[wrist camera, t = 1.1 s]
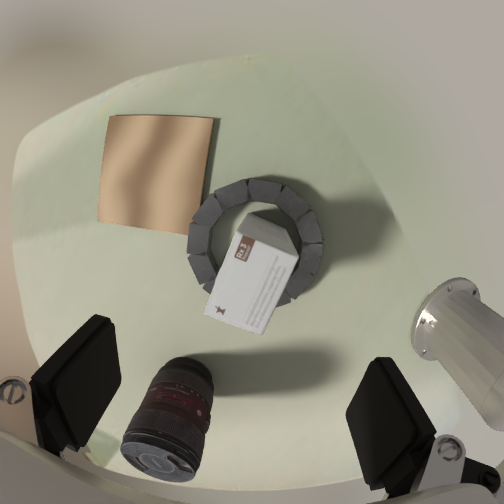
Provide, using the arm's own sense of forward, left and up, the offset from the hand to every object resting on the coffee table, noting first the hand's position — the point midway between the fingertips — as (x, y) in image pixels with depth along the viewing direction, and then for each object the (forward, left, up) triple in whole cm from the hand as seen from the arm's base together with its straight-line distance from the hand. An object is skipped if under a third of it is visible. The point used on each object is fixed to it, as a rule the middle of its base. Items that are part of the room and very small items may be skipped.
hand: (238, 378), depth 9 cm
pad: (+12, -6, -20) cm, 24 cm away
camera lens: (+6, +19, -20) cm, 28 cm away
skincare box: (0, 0, -20) cm, 20 cm away
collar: (0, 0, -20) cm, 20 cm away
